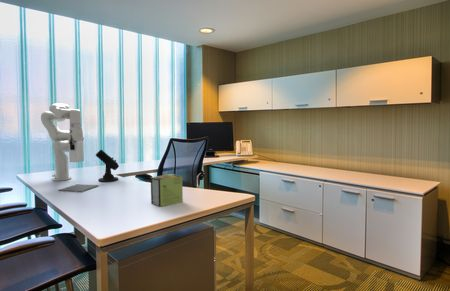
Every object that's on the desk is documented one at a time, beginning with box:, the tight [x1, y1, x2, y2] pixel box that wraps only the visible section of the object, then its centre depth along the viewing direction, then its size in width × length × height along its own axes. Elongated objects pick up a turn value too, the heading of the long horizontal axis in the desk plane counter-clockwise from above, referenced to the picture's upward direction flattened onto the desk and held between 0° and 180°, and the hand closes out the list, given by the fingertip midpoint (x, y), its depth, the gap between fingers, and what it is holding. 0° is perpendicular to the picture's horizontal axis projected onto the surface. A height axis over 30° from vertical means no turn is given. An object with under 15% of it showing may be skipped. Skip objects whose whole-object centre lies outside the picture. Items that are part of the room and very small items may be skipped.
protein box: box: [150, 173, 184, 208], centre depth 173 cm, size 10×15×16 cm
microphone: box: [95, 149, 120, 183], centre depth 237 cm, size 15×17×25 cm
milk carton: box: [68, 140, 85, 163], centre depth 224 cm, size 7×7×19 cm
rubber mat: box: [58, 183, 100, 193], centre depth 210 cm, size 18×18×1 cm
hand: (76, 149), depth 224 cm, fingers closed on milk carton, 7 cm apart
